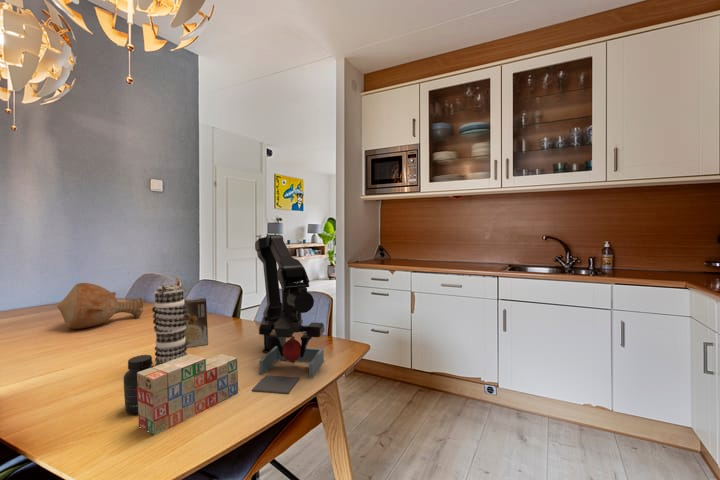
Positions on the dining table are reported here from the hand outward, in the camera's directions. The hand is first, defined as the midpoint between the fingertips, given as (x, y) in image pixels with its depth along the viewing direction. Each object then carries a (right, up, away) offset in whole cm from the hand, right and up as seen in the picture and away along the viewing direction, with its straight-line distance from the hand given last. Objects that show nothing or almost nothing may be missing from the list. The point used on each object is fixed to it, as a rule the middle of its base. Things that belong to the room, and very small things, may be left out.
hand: (292, 356), depth 105 cm
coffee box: (-40, -3, +21) cm, 45 cm away
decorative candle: (-37, -4, +1) cm, 37 cm away
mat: (-2, -4, -11) cm, 12 cm away
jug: (-91, -2, +47) cm, 103 cm away
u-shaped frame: (0, -4, 0) cm, 4 cm away
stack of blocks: (-19, -5, -23) cm, 30 cm away
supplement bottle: (-31, -5, -22) cm, 39 cm away
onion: (0, -2, 0) cm, 2 cm away
